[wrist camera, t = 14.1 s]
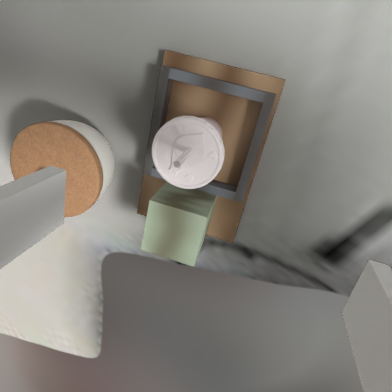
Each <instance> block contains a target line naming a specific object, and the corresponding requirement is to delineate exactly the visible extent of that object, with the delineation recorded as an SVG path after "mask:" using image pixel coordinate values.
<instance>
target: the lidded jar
mask: <svg viewBox="0 0 392 392" xmlns="http://www.w3.org/2000/svg"><path fill="white" fill-rule="evenodd" d="M10 164H11V170H12V174H13V177H14V179H15V180H17V179H19V178H22V177H24V176H27V175H29V174H31V173H34V172H36V171H39V170H41V169H43V168H46V167H48V166H54V167H58V168H61V169H65V170H66V187H65V208H64V217H72V216H76V215H79V214H81V213H83V212H85V211H86V210H88V209H89V208H90V207H91V206H92V205H93V204H94V203H95V202H96V201H97V200H98V199H99V198H100V197H101V196H102V195H103V194H104V193H105V192H106V190H107V189H108V187H109V186H110V184H111V182H112V179H113V176H114V171H115V159H114V155H113V152H112V149H111V147H110V145H109V143H108V142H107V140H106V139H105V138H104V137H103V136H102V135H101V133H100V132H98V131H97V130H96V129H94V128H92V127H91V126H89V125H87V124H84V123H82V122H78V121H72V120H55V121H49V122H40V123H35V124H32V125H30V126H28V127H26V128H24V129H23V130H22V131H21V132H20V133H19V134H18V135H17V137H16V138H15V140H14V142H13V144H12V148H11V153H10Z"/></svg>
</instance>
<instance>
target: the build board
mask: <svg viewBox="0 0 392 392" xmlns="http://www.w3.org/2000/svg"><path fill="white" fill-rule="evenodd" d="M284 82H285V80H284V79H280V78H276V77H272V76H268V75H264V74H260V73H256V72H252V71H248V70H244V69H240V68H236V67H232V66H228V65H224V64H220V63H216V62H212V61H208V60H204V59H200V58H196V57H192V56H188V55H184V54H180V53H176V52H172V51H168V50H164V56H163V62H162V66H161V67H160V73H159V79H158V85H157V91H156V97H155V103H154V109H153V115H152V121H151V128H150V134H149V140H148V146H147V152H146V158H145V164H144V170H143V174H144V176H143V182H142V188H141V194H140V200H139V206H138V212H137V213H138V214H141V215H145V216H147V217H146V223H145V228H144V234H143V239H142V245H141V250H143V251H146V252H149V253H152V254H156V255H159V256H162V257H165V258H168V259H171V260H174V261H177V262H181V263H184V264H187V265H190V266H193V267H194V266H195V263H196V260H197V258H198V255H199V252H200V250H201V247H202V244H203V242H204V239H205V236H206V235H209V236H213V237H216V238H219V239H222V240H226V241H229V242H232V243H233V240H234V237H235V234H236V231H237V228H238V225H239V222H240V219H241V215H242V212H243V209H244V206H245V203H246V200H247V197H248V194H249V191H250V188H251V184H252V181H253V178H254V175H255V172H256V169H257V166H258V163H259V160H260V157H261V154H262V150H263V147H264V144H265V141H266V138H267V135H268V132H269V129H270V126H271V123H272V119H273V116H274V113H275V110H276V107H277V104H278V101H279V98H280V95H281V92H282V88H283V85H284ZM180 116H195V117H198V118H203V117H208V118H212V119H214V120H215V121H217V122H218V124H219V125H220V127H221V129H222V141H223V145H224V149H225V152H224V162H223V165H222V168H221V170H220V171H219V173H218V174H217V176H216V177H215V178H214V179H213V180H212V181H211V182H209V183H208V184H206V185H205V186H202V187H199V188H195V189H184V188H179V187H176V186H174V185H172V184H170V183H169V182H167V181H166V180H165V179H164V178H163V177H162V176H161V175H160V174H159V172H158V171H157V169H156V167H155V165H154V162H153V158H152V144H153V140H154V137H155V135H156V134H157V132H158V131H159V129H160V128H161V127H162V126H163V125H164V124H166V122H168V121H170V120H172V119H173V118H176V117H180Z"/></svg>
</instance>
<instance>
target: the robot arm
mask: <svg viewBox="0 0 392 392" xmlns="http://www.w3.org/2000/svg"><path fill="white" fill-rule="evenodd" d="M65 187H66V170H65V169H61V168H58V167H54V166H48V167H46V168H43V169H41V170H39V171H36V172H34V173H31V174H29V175H27V176H24V177H22V178H19V179H17V180H15V181H12V182H10V183H7V184H5V185H3V186H0V269H1V268H2V267H4V266H5V265H7V264H8V263H9V262H11V261H12V260H14V259H15V258H16V257H18V256H19V255H21V254H22V253H23V252H25V251H26V250H27V249H29V248H30V247H32V246H33V245H34V244H36V243H37V242H39V241H40V240H41V239H43V238H44V237H46V236H47V235H48V234H50V233H51V232H53V231H54V230H55V229H57V228H58V227H60V226H61V225H62V224H64V208H65ZM341 313H342V316H343V320H344V323H345V327H346V331H347V334H348V338H349V341H350V345H351V348H352V352H353V356H354V359H355V362H356V366H357V370H358V373H359V377H360V381H361V384H362V388H363V391H364V392H392V270H391V268H390V266H389V265H386V264H382V263H379V262H376V261H372V260H368V262H367V264H366V266H365V268H364V270H363V272H362V274H361V276H360V277H359V279H358V281H357V283H356V285H355V287H354V289H353V291H352V293H351V295H350V297H349V299H348V300H347V302H346V304H345V306H344V308H343V310H342V312H341Z"/></svg>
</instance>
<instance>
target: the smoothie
mask: <svg viewBox="0 0 392 392" xmlns="http://www.w3.org/2000/svg"><path fill="white" fill-rule="evenodd" d="M224 152H225V149H224V145H223V141H222V129H221V127H220V125H219V124H218V122H217V121H215V120H214V119H212V118H208V117H203V118H198V117H195V116H180V117H176V118H173V119H172V120H170V121H168V122H166V124H164V125H163V126H162V127H161V128H160V129H159V131H158V132H157V134H156V135H155V137H154V140H153V144H152V158H153V162H154V165H155V167H156V169H157V171H158V172H159V174H160V175H161V176H162V177H163V178H164V179H165V180H166V181H167V182H169V183H170V184H172V185H174V186H176V187H179V188H184V189H195V188H199V187H202V186H205V185H206V184H208V183H209V182H211V181H212V180H213V179H214V178H215V177H216V176H217V174H218V173H219V171H220V170H221V168H222V165H223V162H224Z"/></svg>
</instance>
